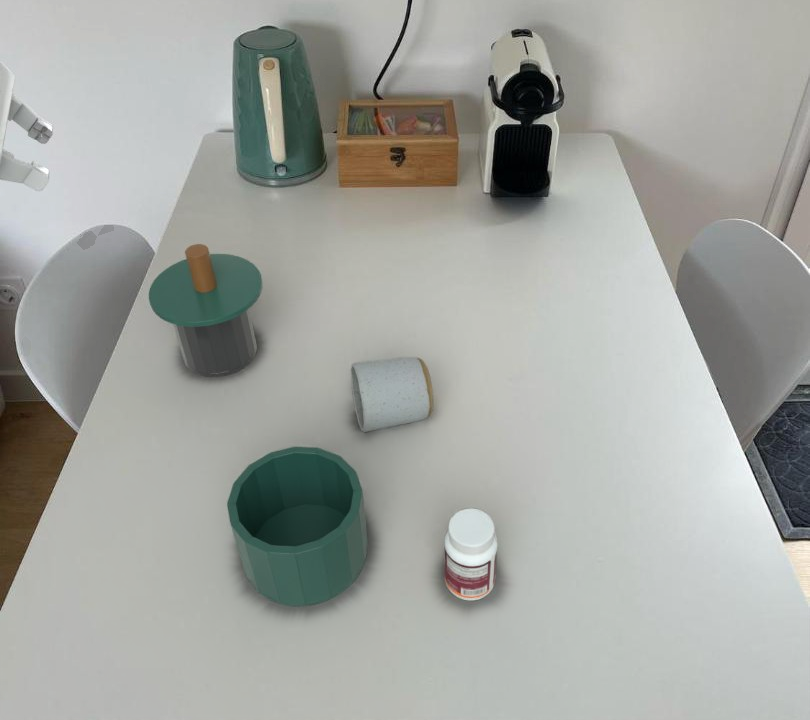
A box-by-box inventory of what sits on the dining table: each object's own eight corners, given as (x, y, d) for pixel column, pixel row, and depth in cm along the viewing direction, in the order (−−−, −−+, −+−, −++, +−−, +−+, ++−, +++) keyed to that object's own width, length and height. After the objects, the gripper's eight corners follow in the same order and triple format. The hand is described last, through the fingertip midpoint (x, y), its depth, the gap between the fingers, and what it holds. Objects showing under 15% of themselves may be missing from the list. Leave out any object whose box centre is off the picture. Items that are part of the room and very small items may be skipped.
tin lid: (156, 341, 89) (141, 296, 85) (146, 275, 98) (133, 231, 94) (273, 316, 91) (264, 271, 87) (253, 253, 101) (244, 209, 96)
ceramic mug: (437, 431, 90) (436, 380, 85) (365, 446, 88) (360, 396, 83) (412, 369, 98) (410, 319, 92) (345, 383, 96) (339, 333, 91)
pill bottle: (461, 549, 78) (463, 495, 73) (504, 573, 76) (509, 520, 71) (434, 585, 76) (433, 532, 70) (477, 611, 74) (480, 559, 68)
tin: (254, 622, 74) (238, 569, 68) (235, 519, 82) (219, 464, 76) (381, 585, 76) (376, 531, 70) (350, 488, 84) (343, 434, 79)
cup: (188, 384, 97) (170, 326, 91) (180, 337, 103) (164, 280, 97) (262, 367, 99) (250, 309, 92) (250, 322, 105) (238, 265, 99)
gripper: (-111, 90, 60) (63, 188, 69) (-72, 0, 75) (68, 89, 84) (-150, 152, 63) (24, 240, 71) (-104, 53, 77) (35, 135, 86)
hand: (48, 158), depth 77 cm, fingers open, 8 cm apart
